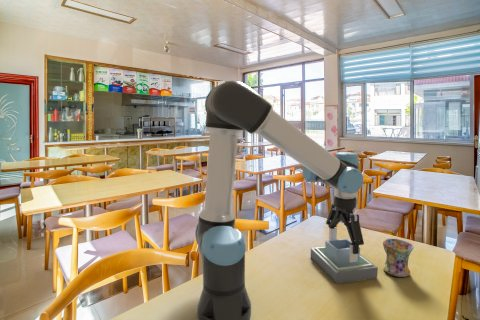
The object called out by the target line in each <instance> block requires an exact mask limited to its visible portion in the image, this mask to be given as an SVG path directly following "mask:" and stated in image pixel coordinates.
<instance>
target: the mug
mask: <svg viewBox="0 0 480 320" xmlns="http://www.w3.org/2000/svg"><path fill="white" fill-rule="evenodd" d="M382 245H383V250H384V251H385V254H386V260H385V262H384V264H383V265H382V269H383V271H384V272H386V273H387V274H389V275H391V276H394V277H399V278H406V277H408V276H410V274H411V271H410V269H409V257H410V255H411V254H412V251H413V250H414V245H413V244H412V243H410V242H409V241H406V240H403V239H398V238H386V239H384V240H383V242H382Z"/></svg>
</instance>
